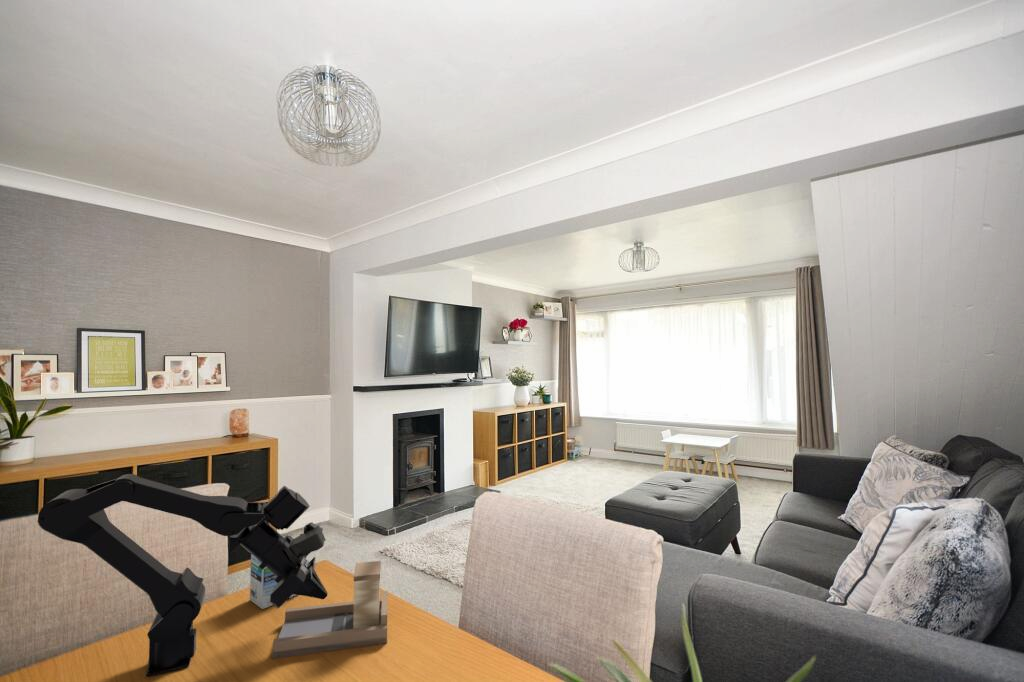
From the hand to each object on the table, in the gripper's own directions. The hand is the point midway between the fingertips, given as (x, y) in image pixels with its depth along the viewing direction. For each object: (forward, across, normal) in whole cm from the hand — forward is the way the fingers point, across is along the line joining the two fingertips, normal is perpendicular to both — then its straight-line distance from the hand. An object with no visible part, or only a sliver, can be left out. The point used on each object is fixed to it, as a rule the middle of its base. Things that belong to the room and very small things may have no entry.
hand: (325, 596), depth 98 cm
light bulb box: (-3, +19, +15) cm, 24 cm away
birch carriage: (+10, 0, -2) cm, 10 cm away
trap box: (+7, 0, +4) cm, 8 cm away
